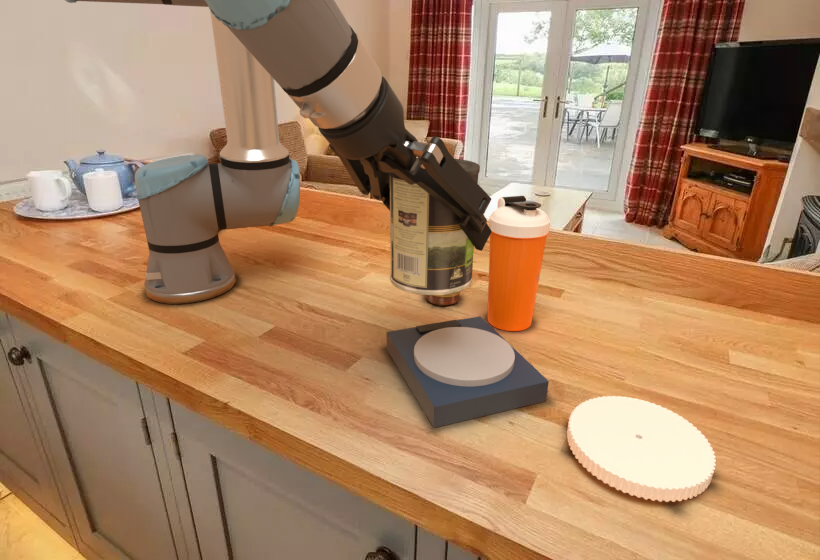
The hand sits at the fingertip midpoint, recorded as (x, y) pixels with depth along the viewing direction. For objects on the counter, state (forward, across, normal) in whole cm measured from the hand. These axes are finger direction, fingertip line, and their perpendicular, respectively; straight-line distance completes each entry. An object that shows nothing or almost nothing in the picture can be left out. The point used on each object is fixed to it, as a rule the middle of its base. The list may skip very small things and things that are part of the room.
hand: (447, 231), depth 61 cm
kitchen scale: (+13, +3, -14) cm, 19 cm away
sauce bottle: (+25, -12, -2) cm, 28 cm away
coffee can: (+2, 0, -6) cm, 6 cm away
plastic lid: (+13, +26, -14) cm, 33 cm away
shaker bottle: (+26, +1, -2) cm, 26 cm away
